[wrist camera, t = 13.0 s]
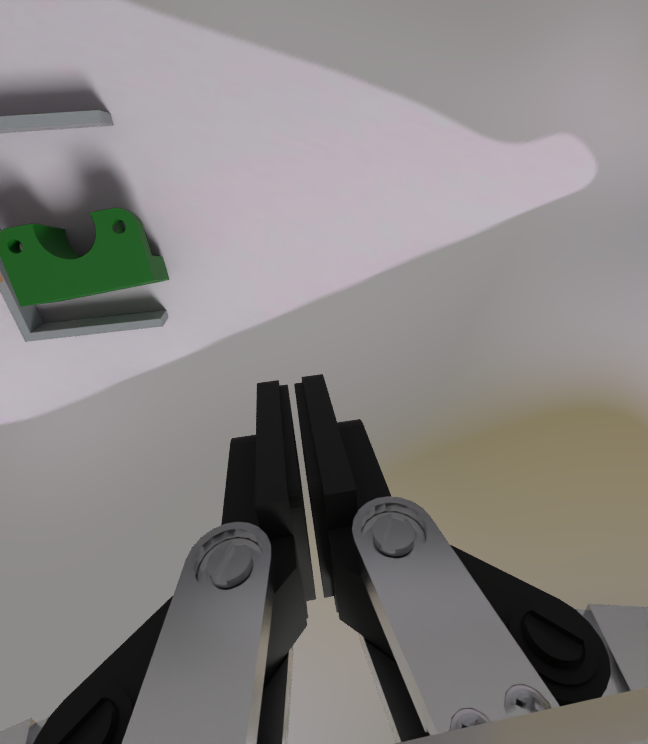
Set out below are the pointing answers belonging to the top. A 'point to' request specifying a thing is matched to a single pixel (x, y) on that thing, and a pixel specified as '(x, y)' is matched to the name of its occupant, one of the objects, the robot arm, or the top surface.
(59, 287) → the clamp
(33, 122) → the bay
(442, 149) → the top surface
